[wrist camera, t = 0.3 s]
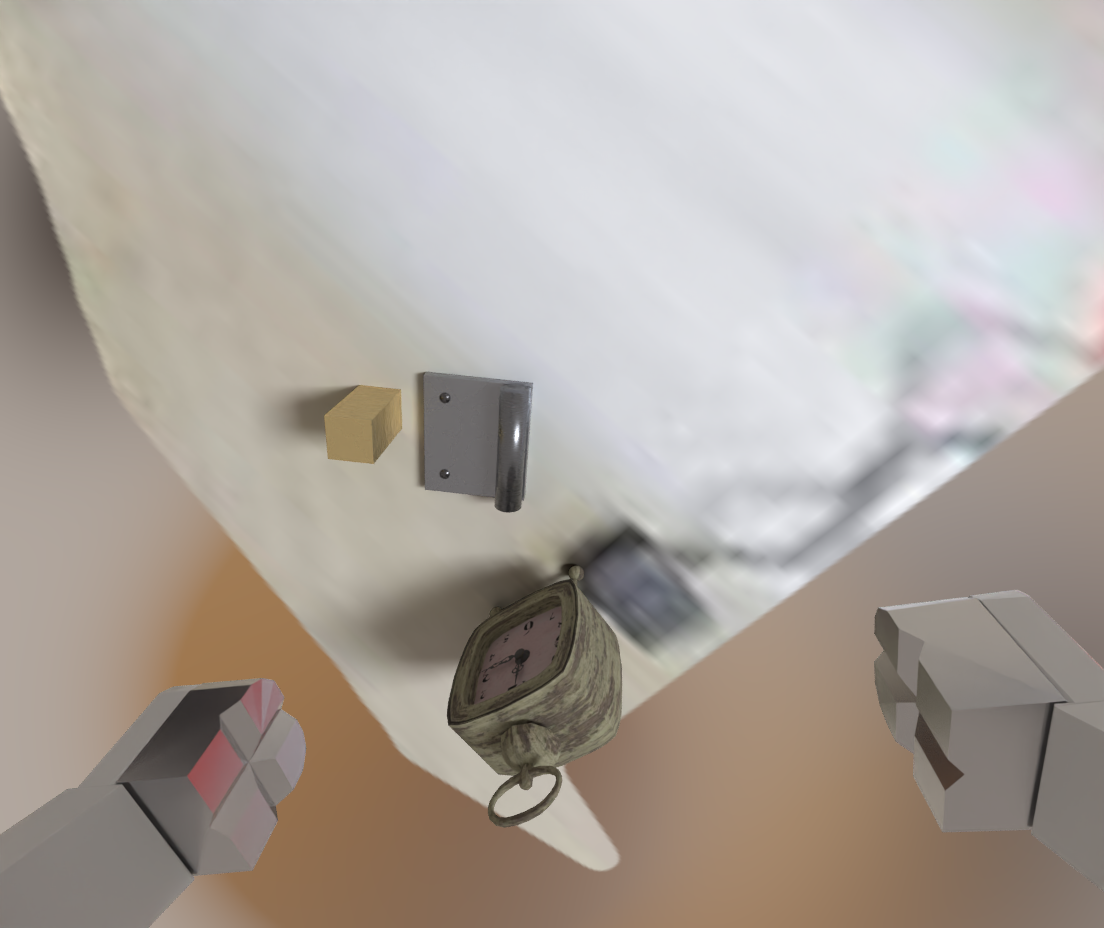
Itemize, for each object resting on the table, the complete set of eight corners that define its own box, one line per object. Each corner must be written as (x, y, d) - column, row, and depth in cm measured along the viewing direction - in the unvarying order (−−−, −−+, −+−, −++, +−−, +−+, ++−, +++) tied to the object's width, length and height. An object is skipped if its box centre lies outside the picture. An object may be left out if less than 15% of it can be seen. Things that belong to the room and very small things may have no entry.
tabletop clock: (582, 548, 63) (569, 755, 41) (627, 607, 66) (639, 830, 44) (475, 605, 68) (411, 820, 45) (522, 657, 71) (484, 884, 48)
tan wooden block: (361, 424, 59) (328, 459, 52) (359, 385, 57) (324, 415, 50) (401, 428, 59) (373, 464, 52) (400, 389, 57) (371, 420, 50)
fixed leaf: (427, 484, 61) (417, 502, 58) (426, 371, 56) (415, 384, 53) (524, 495, 61) (520, 513, 58) (532, 382, 56) (528, 396, 52)
